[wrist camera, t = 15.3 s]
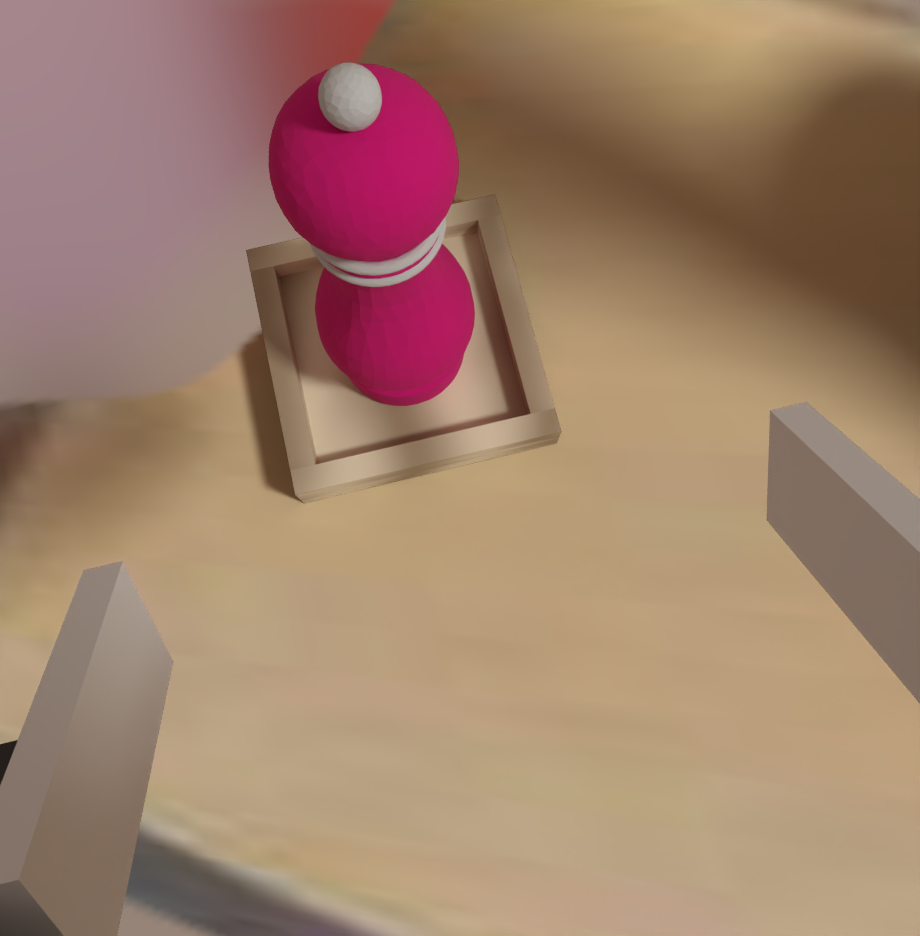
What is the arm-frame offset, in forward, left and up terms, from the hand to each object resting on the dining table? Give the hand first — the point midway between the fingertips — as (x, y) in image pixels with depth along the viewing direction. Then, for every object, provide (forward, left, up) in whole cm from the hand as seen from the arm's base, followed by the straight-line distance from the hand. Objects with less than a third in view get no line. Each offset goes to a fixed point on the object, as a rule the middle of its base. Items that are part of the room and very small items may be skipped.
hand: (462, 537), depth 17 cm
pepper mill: (0, -13, -23) cm, 26 cm away
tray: (0, -13, -24) cm, 27 cm away
